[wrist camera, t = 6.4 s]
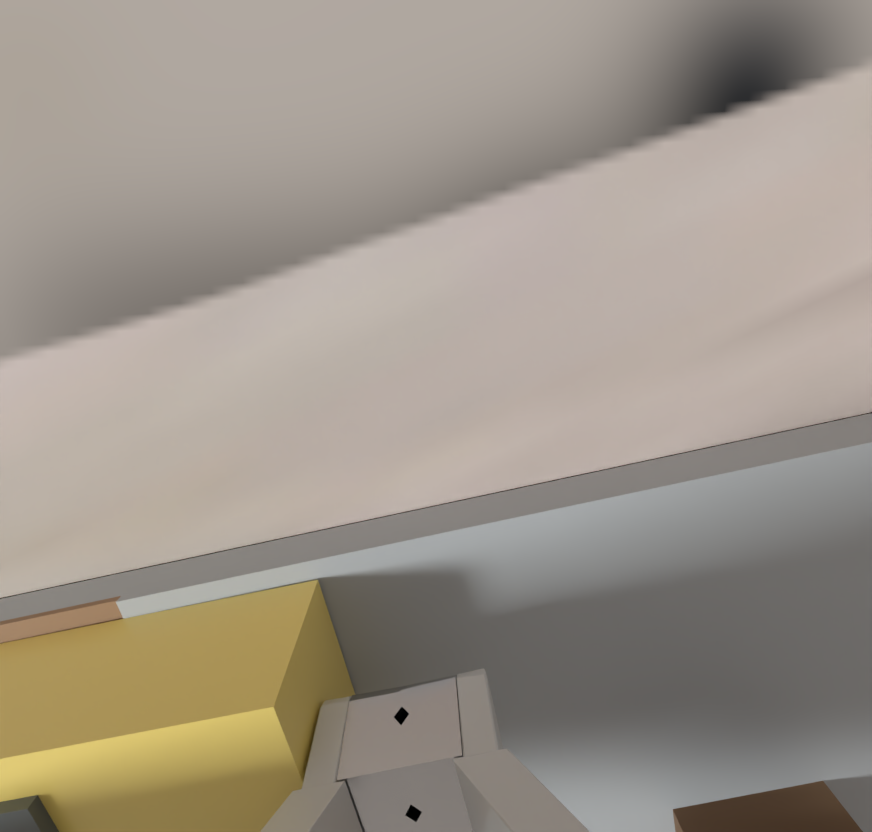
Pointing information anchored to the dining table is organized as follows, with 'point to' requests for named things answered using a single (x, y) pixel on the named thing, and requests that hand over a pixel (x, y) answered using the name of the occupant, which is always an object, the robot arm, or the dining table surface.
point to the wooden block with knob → (770, 812)
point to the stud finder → (167, 716)
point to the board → (601, 618)
